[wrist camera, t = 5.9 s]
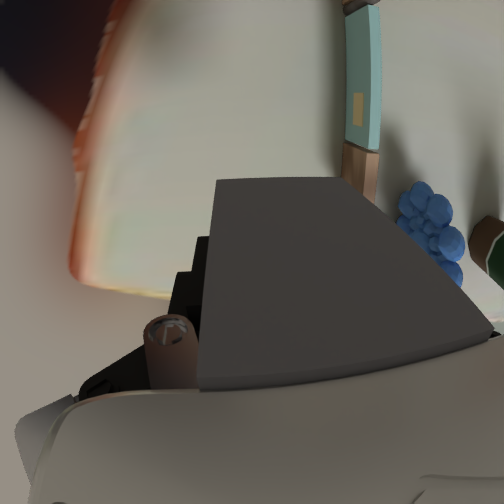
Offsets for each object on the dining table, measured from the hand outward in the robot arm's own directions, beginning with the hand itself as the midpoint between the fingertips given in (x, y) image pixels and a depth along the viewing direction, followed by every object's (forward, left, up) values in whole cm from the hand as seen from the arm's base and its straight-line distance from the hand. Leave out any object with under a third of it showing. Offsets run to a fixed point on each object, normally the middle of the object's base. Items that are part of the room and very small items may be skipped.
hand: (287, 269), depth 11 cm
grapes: (+6, +18, -19) cm, 27 cm away
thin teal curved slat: (-9, +10, -19) cm, 23 cm away
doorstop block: (0, 0, -2) cm, 2 cm away
